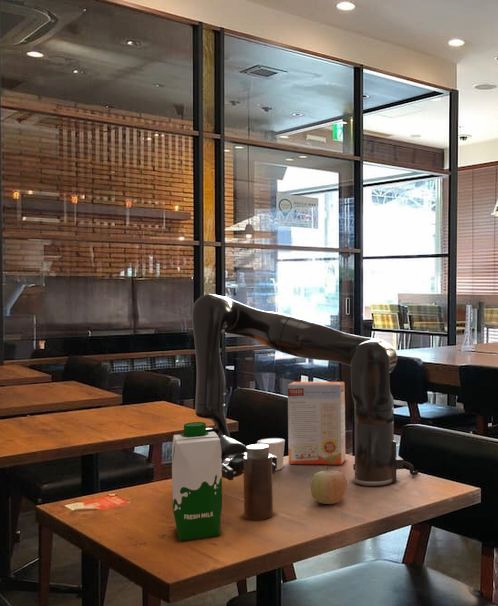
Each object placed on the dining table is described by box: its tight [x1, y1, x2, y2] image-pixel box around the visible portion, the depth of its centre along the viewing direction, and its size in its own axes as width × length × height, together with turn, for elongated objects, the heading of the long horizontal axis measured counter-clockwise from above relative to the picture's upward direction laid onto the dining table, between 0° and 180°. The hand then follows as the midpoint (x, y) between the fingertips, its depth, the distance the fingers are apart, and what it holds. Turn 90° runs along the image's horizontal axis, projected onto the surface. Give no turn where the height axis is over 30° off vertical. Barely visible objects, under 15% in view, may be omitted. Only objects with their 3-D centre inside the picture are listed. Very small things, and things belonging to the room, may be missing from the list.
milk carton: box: [171, 421, 223, 542], centre depth 131 cm, size 9×9×20 cm
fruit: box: [310, 465, 348, 505], centre depth 149 cm, size 8×7×8 cm
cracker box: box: [287, 381, 346, 466], centre depth 183 cm, size 14×6×21 cm, turn 84°
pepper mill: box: [243, 443, 274, 521], centre depth 141 cm, size 6×6×14 cm
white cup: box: [256, 437, 286, 471], centre depth 178 cm, size 7×7×7 cm
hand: (252, 472), depth 144 cm, fingers open, 8 cm apart
